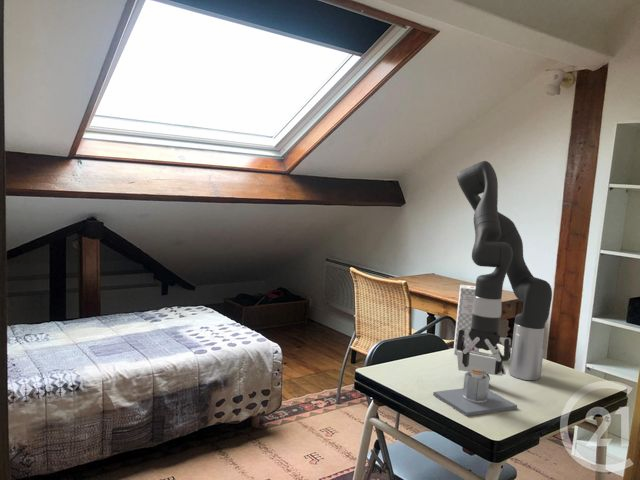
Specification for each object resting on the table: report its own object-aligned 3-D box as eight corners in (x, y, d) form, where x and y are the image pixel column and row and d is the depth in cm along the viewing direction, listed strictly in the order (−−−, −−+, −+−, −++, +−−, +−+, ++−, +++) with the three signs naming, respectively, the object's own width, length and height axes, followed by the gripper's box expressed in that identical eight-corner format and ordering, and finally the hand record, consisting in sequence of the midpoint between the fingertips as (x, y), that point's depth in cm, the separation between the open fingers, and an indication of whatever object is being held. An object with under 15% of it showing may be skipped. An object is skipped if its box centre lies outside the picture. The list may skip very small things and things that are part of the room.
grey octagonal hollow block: (460, 396, 139) (462, 374, 138) (470, 388, 146) (472, 367, 145) (482, 402, 135) (484, 380, 135) (491, 394, 142) (493, 373, 141)
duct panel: (481, 389, 150) (484, 360, 149) (516, 408, 137) (520, 377, 137) (433, 395, 142) (436, 364, 142) (466, 416, 130) (469, 383, 129)
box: (454, 354, 184) (461, 288, 181) (453, 347, 192) (460, 284, 190) (478, 357, 182) (485, 290, 180) (476, 351, 190) (483, 287, 188)
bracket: (458, 382, 159) (501, 388, 147) (455, 351, 159) (498, 355, 148) (465, 380, 161) (508, 386, 150) (463, 349, 162) (505, 353, 150)
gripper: (456, 310, 138) (452, 367, 139) (510, 320, 130) (504, 380, 131) (465, 306, 144) (460, 360, 145) (516, 315, 136) (511, 372, 138)
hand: (481, 369), depth 138 cm, fingers open, 8 cm apart
